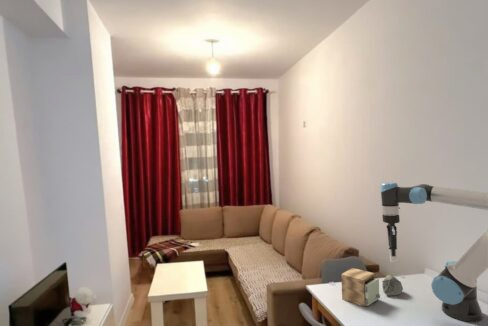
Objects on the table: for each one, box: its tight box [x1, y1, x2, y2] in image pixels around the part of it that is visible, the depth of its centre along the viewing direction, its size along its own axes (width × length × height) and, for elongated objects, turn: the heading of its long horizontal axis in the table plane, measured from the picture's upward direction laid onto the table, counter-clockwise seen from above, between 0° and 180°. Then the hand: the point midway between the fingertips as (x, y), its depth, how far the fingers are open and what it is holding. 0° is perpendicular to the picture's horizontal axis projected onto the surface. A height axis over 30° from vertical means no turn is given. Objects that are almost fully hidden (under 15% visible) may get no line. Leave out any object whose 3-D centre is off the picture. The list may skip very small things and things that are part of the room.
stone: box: [382, 274, 404, 296], centre depth 163 cm, size 10×10×10 cm
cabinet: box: [340, 267, 376, 307], centre depth 158 cm, size 12×12×13 cm
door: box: [365, 278, 381, 307], centre depth 152 cm, size 2×12×10 cm, turn 130°
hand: (393, 262), depth 150 cm, fingers closed
